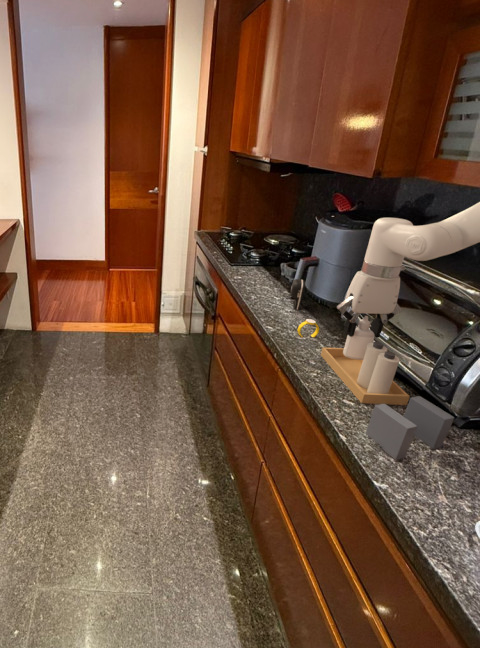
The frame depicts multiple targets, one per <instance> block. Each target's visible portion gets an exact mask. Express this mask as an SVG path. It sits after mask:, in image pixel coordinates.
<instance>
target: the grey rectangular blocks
mask: <svg viewBox="0 0 480 648" xmlns="http://www.w3.org/2000/svg"><path fill="white" fill-rule="evenodd" d="M406 406H407V407H406V409H405V412H404V415H402V414H400V413H399V412H397V411H396V410H395V409H394V408H392V407H390V406H389V405H388V404H374V407H373V409H372V413H371V416H370V419H369V422H368V425H367V428H366V430H365V434H366V435H367V437H369V438H371V440H373V441H374V442H375V443H377V444H378V445H379V446H378V447H379V448H380V449H381V450H382V451H384V452H385V453H386V454H387V455H388V456H390V457H391V458H393V459H394V461H395V460H396V461H398V460H401V459H404V458H406V457H407V455H408V453H409V449H410V446H411V444H412V442H413V439H414V437H416V438H417V439H418V440H420V441H421V442H423V443H425V444H426V445H427V446H428V447H430V451H436V450H437V448H441V447H443V445H444V443H445V441H446V438H447V436H448V434H449V432H450V429H451V427H452V424H453V422H454V420H455V417H454V416H453V415H451V414H450V413H448V412H446V411H444V410H443V409H442V408H440V407H439V406H436V405H435V404H434V403H432V402H431V401H429V400H427V399H425V398H424V397H422V396H420V395H417V396H412V397H409V400H408V403H407V405H406Z"/></svg>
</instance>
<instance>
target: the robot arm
mask: <svg viewBox="0 0 480 648" xmlns="http://www.w3.org/2000/svg"><path fill="white" fill-rule="evenodd" d="M478 243H480V201H478V202H477V203H475V204H473V205H472V206H470V207H468V208H466V209H464V210H462V211H460V212H458V213H456V214H454V215H452V216H450V217H448V218H446V219H443V220H441V221H437V222H432V223H428V224H423V225H421V224H420V225H414V224H413V222H412V221H410V220H408V219H404V218H399V217H380V218H378V219H377V220H375V221H374V223H373V226H372V230H371V233H370V237H369V241H368V243H367V244H368V245H367V248H366V251H365V255H364V259H363V263H362V267H361V268H360V269H361V270H359V271H356V273H355V275H354V277H353V278H352V280H351V281H350V285H349V286H348V289H347V293H346V295H345V298H344V300H343V301H342V302H340V303H339V304H338V305H336V309H337V310H338V311H339V312H340V313H341V314H342V315H343V316H344V318H345V319H346V321H345V324H344V328H343V330H344V333H345V334H347V336H348V335H349V336H350V337H353V336H354V332H355V329H356V327H357V326H358V324H357V322H356V321H357V320H358V318H359V317H360V315H361V314H367V315H368V314H369V315H370V314H371V315H372V314H374V315H375V318H373V319H372V322H371V324H370V327H369V330H371V331H372V332H373V333H374V334H375V337H374V338H380V336H381V333H383V328H384V325H386V324H387V323H388V321H389V320H391V319H393V318H394V317H395V316H397V315H398V314H400V313H401V312H402V311H403V309H402V307H401V306H400V304H399V303H398V299H399V294H400V289H401V277H400V273H401V272H404V271H405V270H406V266H405V265H404V264H403V263H404V259H405V258H407V259H410V260H413V261H416V262H417V261H418V262H424V261H425V262H427V261H430V260H434V259H437V258H440V257H444V256H448V255H451V254H454V253H456V252H459V251H462V250H464V249H467V248H469V247H471V246H474V245H476V244H478ZM348 307H349V309H348V310H347V308H348Z"/></svg>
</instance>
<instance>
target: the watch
mask: <svg viewBox="0 0 480 648" xmlns="http://www.w3.org/2000/svg"><path fill="white" fill-rule="evenodd" d="M307 325H310V326H315V331H314V332H313V333H312V334H310V336H311V337H312V338H316V336H318V334H319V332H320V326H319V325H318V324H317V322H316V320H314V319H311V318H306V319H305V320H304V321H303V322H301V323H300V324H299V325H298V328H297V334H298V335H299V337H301V338H303V337H304V336H303V335H302V332H301V331H302V328H304V327H305V326H307Z"/></svg>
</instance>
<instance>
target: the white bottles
mask: <svg viewBox="0 0 480 648" xmlns="http://www.w3.org/2000/svg"><path fill="white" fill-rule="evenodd" d="M399 363H400V358H399V357H398V356H397V355H396V354H395V352H392V351H390V350H389V351H388V348H387V347H386V346H385V344H384V343H382V342H380V341H373V343H369V344H368V346H367V349H366V353H365V356H364V359H363V362H362V366H361V369H360V372H359V376H358V379H357V384H358V385H360V386H361V387H363V388H366V389H368V390H367V393H377V394H388V393H389V390H390V387H391V384H392V381H394V378H395V375H396V373H397V369H398V367H399Z"/></svg>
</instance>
